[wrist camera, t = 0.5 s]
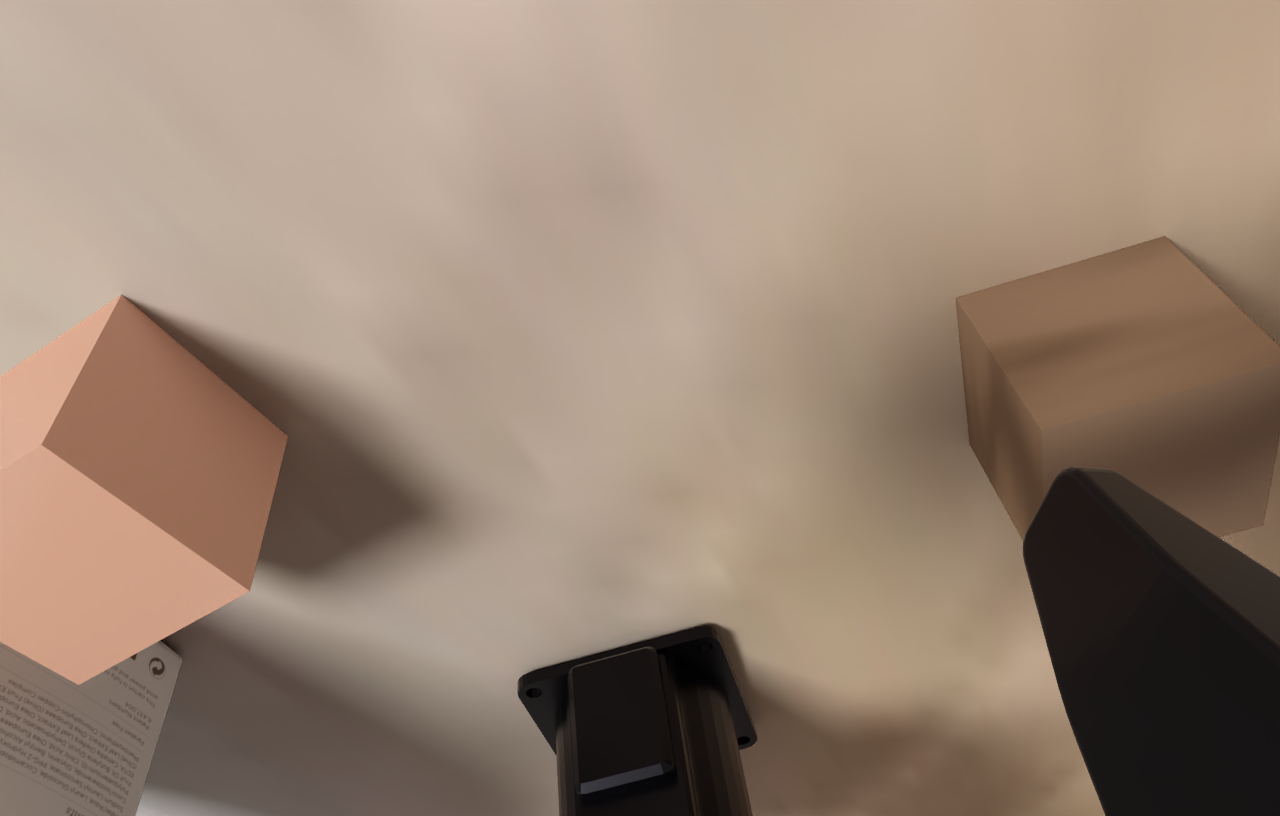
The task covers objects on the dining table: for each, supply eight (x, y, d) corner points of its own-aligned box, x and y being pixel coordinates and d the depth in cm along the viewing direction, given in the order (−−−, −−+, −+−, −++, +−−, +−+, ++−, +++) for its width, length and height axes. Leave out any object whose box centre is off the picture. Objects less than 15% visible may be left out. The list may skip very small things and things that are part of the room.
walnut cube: (1153, 390, 27) (1263, 525, 23) (968, 442, 27) (1046, 582, 23) (1163, 234, 24) (1292, 359, 20) (954, 296, 24) (1041, 430, 20)
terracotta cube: (288, 434, 25) (249, 591, 21) (140, 521, 26) (78, 684, 22) (122, 292, 22) (41, 444, 18) (-35, 399, 23) (-143, 562, 19)
